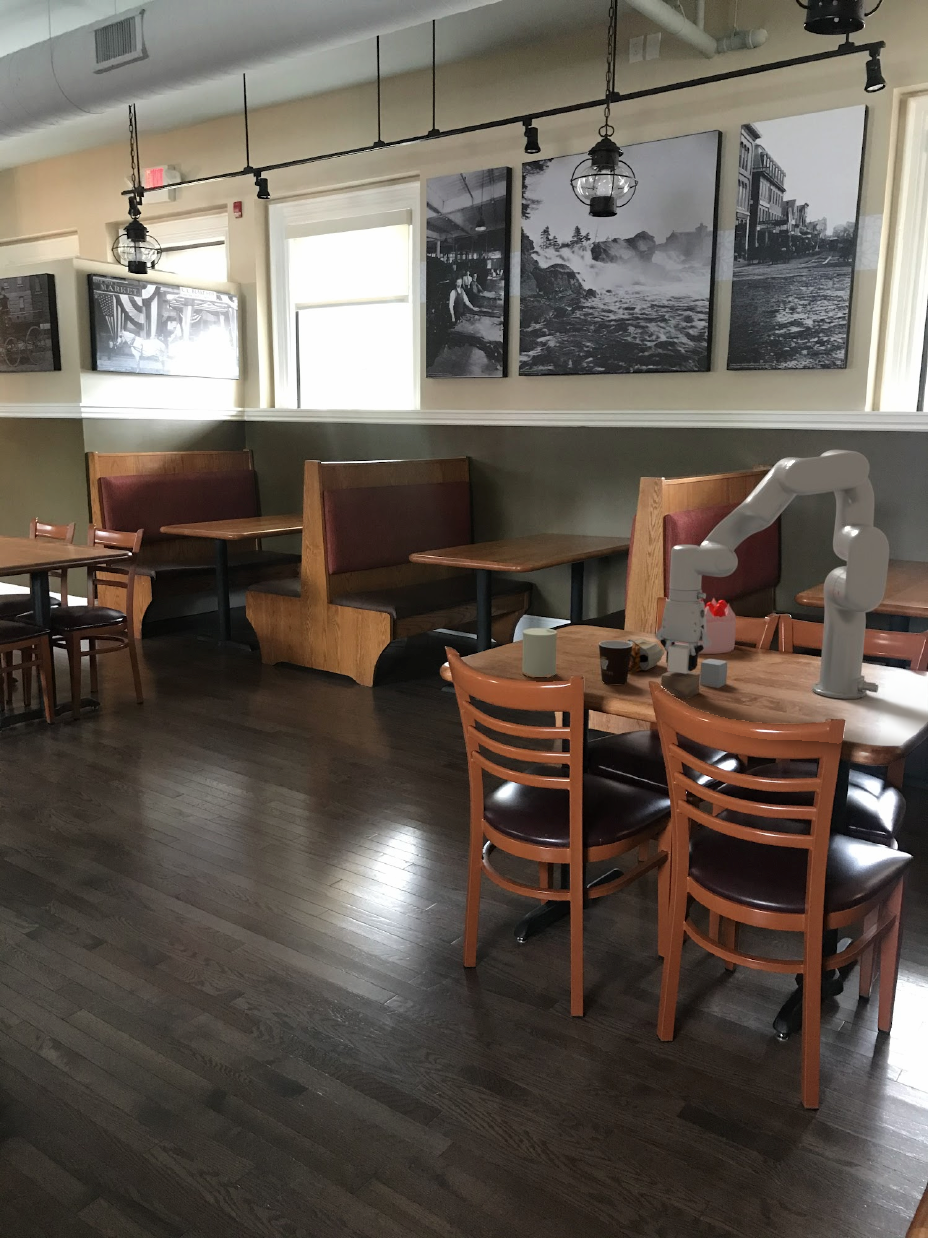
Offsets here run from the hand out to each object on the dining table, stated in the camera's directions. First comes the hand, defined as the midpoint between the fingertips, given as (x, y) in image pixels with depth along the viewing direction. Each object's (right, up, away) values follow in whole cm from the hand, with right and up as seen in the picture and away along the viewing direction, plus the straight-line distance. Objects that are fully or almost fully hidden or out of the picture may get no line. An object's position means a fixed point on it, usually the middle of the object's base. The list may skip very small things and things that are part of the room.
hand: (681, 667), depth 240 cm
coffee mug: (-15, -5, +10) cm, 18 cm away
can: (-34, -3, +20) cm, 39 cm away
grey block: (+10, -5, +10) cm, 15 cm away
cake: (+17, +3, +51) cm, 54 cm away
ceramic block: (0, -1, 0) cm, 1 cm away
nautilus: (-8, -2, +25) cm, 26 cm away
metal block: (0, -7, +1) cm, 7 cm away
